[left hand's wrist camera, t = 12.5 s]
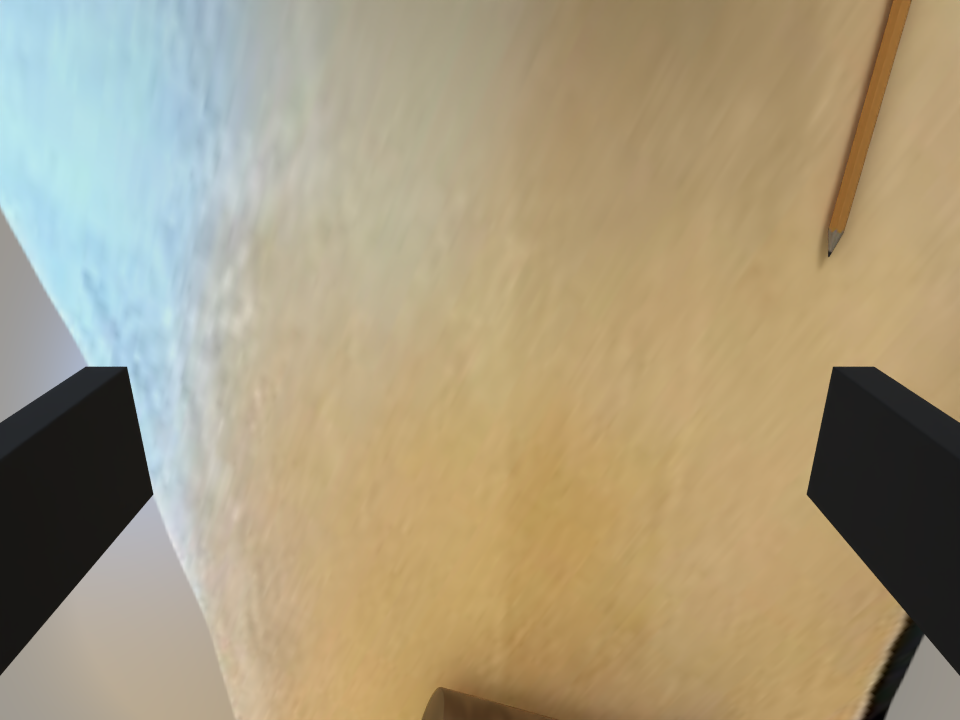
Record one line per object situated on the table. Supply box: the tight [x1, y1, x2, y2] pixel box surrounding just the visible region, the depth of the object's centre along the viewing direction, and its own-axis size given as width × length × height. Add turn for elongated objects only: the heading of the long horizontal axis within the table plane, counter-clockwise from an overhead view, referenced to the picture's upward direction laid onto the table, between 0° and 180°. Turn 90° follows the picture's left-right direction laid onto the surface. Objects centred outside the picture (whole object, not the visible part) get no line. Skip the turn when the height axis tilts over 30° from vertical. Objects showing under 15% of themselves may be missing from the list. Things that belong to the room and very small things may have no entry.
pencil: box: [828, 0, 911, 257], centre depth 38 cm, size 1×1×19 cm
